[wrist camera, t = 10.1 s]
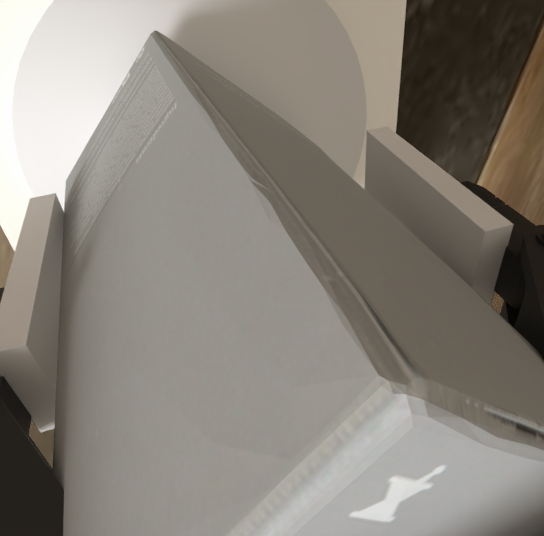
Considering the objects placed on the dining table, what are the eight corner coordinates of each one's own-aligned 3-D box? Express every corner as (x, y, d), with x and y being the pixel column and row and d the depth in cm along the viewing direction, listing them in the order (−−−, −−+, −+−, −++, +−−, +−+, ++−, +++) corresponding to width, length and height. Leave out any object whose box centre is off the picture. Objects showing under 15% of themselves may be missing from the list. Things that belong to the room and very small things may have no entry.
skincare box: (64, 175, 17) (-51, 802, 5) (167, -1, 15) (419, 391, 3) (242, 263, 22) (407, 703, 10) (343, 140, 19) (730, 519, 7)
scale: (58, 271, 26) (48, 333, 22) (-127, -111, 16) (-203, -119, 12) (357, 203, 29) (395, 247, 25) (369, -160, 19) (436, -178, 15)
